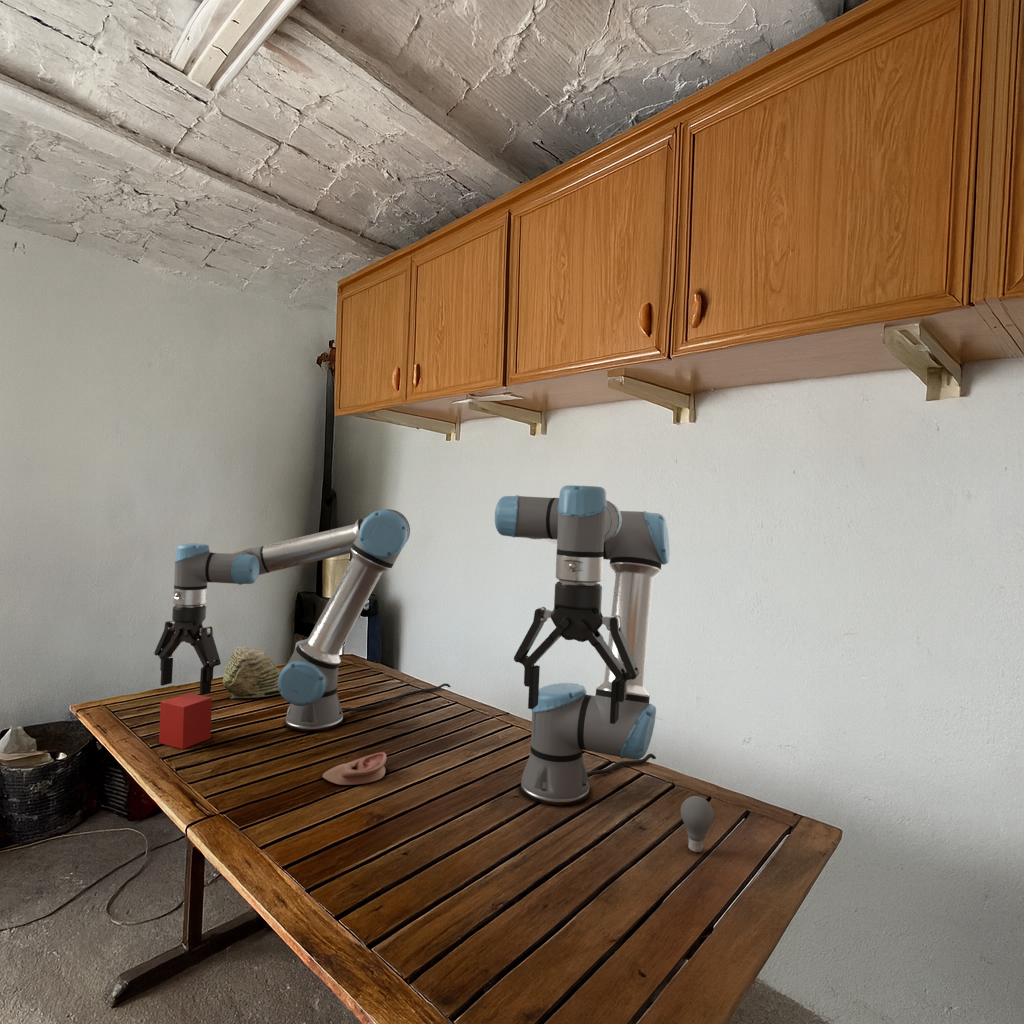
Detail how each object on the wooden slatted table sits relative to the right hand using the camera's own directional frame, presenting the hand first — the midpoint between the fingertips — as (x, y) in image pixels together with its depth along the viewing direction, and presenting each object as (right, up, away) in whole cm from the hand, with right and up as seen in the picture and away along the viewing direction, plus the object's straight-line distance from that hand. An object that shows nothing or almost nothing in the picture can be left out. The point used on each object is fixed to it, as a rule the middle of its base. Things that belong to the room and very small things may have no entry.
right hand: (572, 713), depth 102 cm
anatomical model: (-46, -28, +43) cm, 68 cm away
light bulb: (+25, -31, +17) cm, 43 cm away
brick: (-92, -25, +58) cm, 112 cm away
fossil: (-90, -25, +96) cm, 134 cm away
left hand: (-92, -12, +58) cm, 110 cm away
